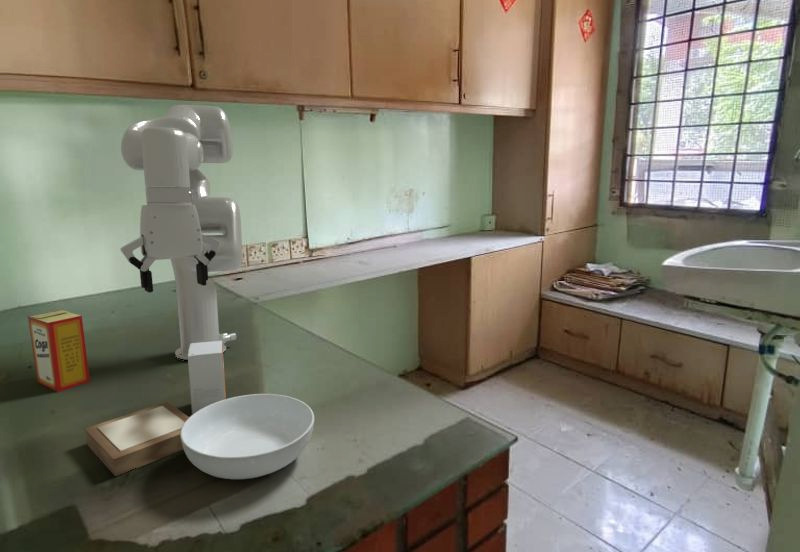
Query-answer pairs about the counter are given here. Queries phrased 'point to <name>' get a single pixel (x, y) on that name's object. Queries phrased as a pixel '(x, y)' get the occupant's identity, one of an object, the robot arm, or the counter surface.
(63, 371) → the baking soda box
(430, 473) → the counter surface
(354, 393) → the counter surface
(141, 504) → the counter surface
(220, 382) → the small box
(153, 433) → the picture frame
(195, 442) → the serving bowl
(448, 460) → the counter surface
